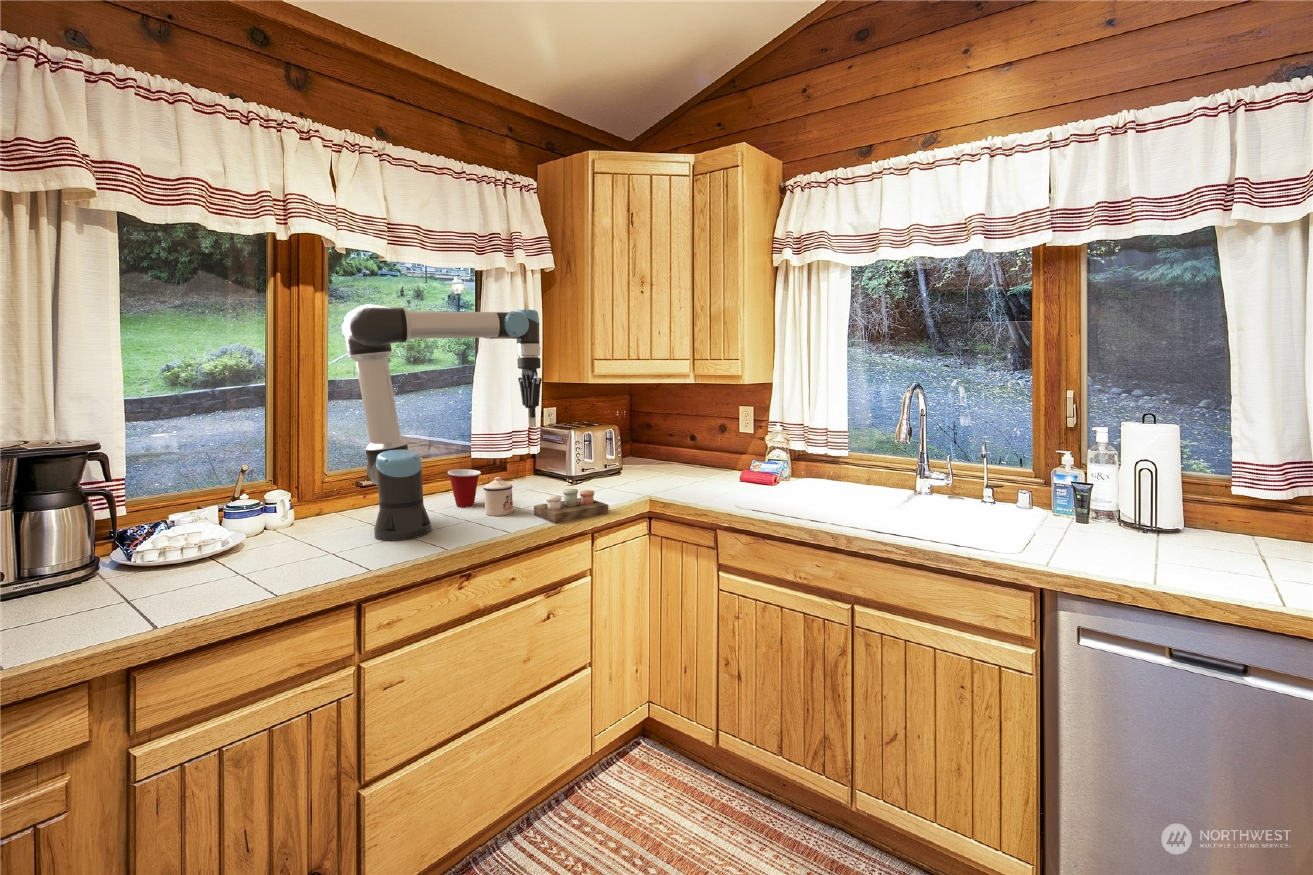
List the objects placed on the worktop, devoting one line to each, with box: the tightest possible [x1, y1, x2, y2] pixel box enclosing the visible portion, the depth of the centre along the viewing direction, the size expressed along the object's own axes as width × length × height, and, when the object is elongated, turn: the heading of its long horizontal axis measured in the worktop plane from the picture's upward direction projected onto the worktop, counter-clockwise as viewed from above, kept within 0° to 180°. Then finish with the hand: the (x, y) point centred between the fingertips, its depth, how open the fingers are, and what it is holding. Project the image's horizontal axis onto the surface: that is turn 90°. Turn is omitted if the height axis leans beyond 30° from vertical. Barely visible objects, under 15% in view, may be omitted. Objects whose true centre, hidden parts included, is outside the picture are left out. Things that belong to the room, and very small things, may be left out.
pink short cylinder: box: [579, 489, 595, 505], centre depth 199 cm, size 5×5×5 cm
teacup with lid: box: [483, 476, 514, 517], centre depth 199 cm, size 12×9×12 cm
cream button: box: [546, 495, 562, 511], centre depth 192 cm, size 5×5×5 cm
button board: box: [533, 497, 609, 525], centre depth 195 cm, size 19×14×3 cm
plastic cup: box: [447, 468, 482, 508], centre depth 209 cm, size 11×11×12 cm
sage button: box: [562, 488, 579, 508], centre depth 195 cm, size 5×5×5 cm
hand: (531, 427), depth 208 cm, fingers closed
